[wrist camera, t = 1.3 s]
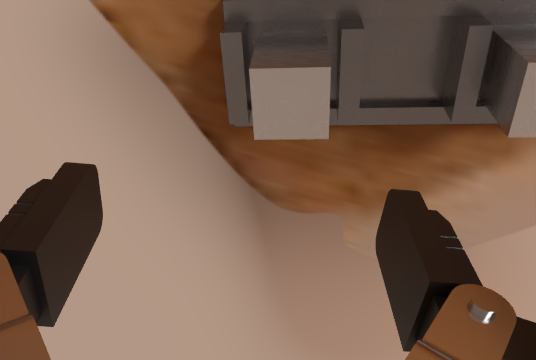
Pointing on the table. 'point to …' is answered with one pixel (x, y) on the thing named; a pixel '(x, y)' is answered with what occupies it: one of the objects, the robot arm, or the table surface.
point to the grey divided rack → (378, 64)
